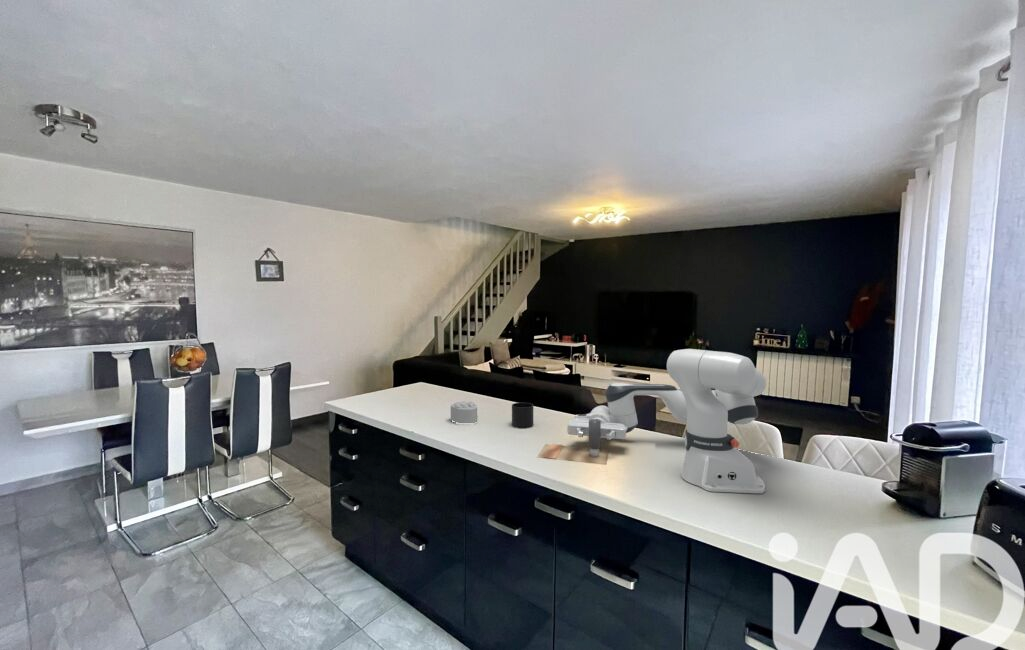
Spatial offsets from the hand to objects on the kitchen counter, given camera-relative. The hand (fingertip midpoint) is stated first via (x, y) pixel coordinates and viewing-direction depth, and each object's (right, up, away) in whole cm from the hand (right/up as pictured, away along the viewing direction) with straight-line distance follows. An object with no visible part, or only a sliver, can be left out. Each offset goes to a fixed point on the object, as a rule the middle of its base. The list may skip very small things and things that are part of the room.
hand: (594, 436), depth 143 cm
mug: (-22, -7, +44) cm, 50 cm away
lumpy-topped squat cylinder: (-49, -6, +49) cm, 70 cm away
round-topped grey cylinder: (0, -7, +1) cm, 7 cm away
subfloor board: (-6, -8, +3) cm, 11 cm away
